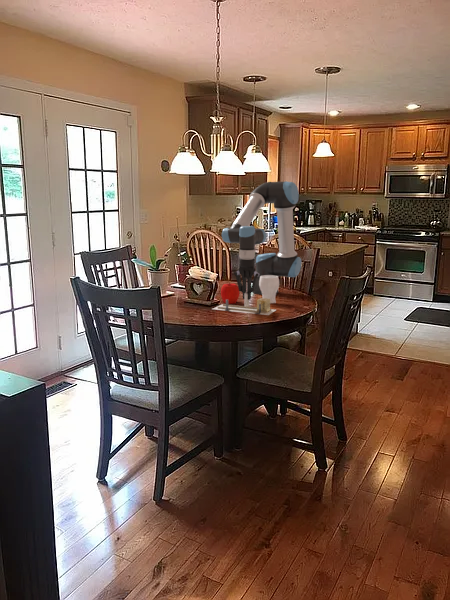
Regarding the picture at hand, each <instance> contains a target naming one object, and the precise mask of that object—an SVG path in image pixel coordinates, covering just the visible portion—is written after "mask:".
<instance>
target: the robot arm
mask: <svg viewBox="0 0 450 600" xmlns="http://www.w3.org/2000/svg"><path fill="white" fill-rule="evenodd" d="M299 193H300V192H299V189H298V186H297V185H296V183H295V182H293V181H265V182H264V183H261V184H260V185H258V186H257V187H255V188H254V189H253V190H252V191H251V193H250V194H249V196H248V200H247V202H246V204H245V205H244V207H243V208H242V210H241V211H240V213H239V214H238V215H237V217H236V219H235V220H234V222H233V223H232V224H231V226H230V227H225V228H223V229H222V232H221V238H222V242H225V243H229V244H238V245H239V249H238V251H239V254H238V256H239V260H238V262H239V263H238V265H239V266H238V269H237V270H236V271H235V272H233V275H234V276H235V278H236V283H237V284H236V285H237V286H238V288H239V292H241V293H242V299H243V300H244V305H243V306H247V307H250V300H251V298H252V293H254V294H256V295H262V292H261V290H260V287H259V280H260V276H264V275H274V276H278V277H284V278H296V277H297V276H299V273H300V272H301V268H302V258H301V257H300V256H298V252H297V251H295V237H294V236H295V234H294V233H295V232H294V211H293V209H294V208H295V207H296V204H298V201H299V197H300V194H299ZM266 204H273V208H274V209H275V210H276V214H277V215H276V216H277V231H278V232H277V234H278V249H279V251H278V252H277V253H276V252H269V253H262V254H258V255H256V254H255V252H256V251H255V247H256V245H260V244H262V243H265V241H266V240H267V232H266V231H265V230H264V229H263V228H255V226H253V225H250V224H251V223H252V221H253V220H254V219H255V217H256V216H257V214H258V212H259V210H260V209H261V208H263V207H264V206H265V205H266ZM255 257H256V258H255ZM255 259H256V260H255ZM253 276H254V277H253ZM252 277H253V280H252ZM277 294H279V289H278V290H277V292H276V295H277Z"/></svg>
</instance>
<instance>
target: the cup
mask: <svg viewBox="0 0 450 600" xmlns="http://www.w3.org/2000/svg"><path fill="white" fill-rule="evenodd" d="M259 287H260V290H261V292H262V294H261V295H262V296H261V298H266V299H270V304H276V303H277V301H276V296H277V294H276V292H277V290H278V291H279V287H280V279H279V276H274V275H264V276H260V280H259Z"/></svg>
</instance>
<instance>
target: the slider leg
mask: <svg viewBox="0 0 450 600" xmlns="http://www.w3.org/2000/svg"><path fill="white" fill-rule="evenodd" d="M256 307H257V311H259V313H261V311H266V312H267V313H268V312H269V311H270V309H271V303H270V299H266V298H263V297H261V298H260V297H259V299H257V300H256Z"/></svg>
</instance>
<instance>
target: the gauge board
mask: <svg viewBox="0 0 450 600" xmlns="http://www.w3.org/2000/svg"><path fill="white" fill-rule="evenodd" d="M212 310H214V311H215V310H217V311H225V312H232V313H233V312H235V313H246V314H253V315H254V314H255V315H264V316H270V315H271V314H273V313H274V312H276V311H277V309H272V308H270V311H269V312H268V313H267V312H266V311H261V313H259V311H257V306H255V307H253V306H244V305H238V304H237V305H235V304H228V300H226V303H223V304H219V305H217V306H216V307H214V308H213V307H212Z"/></svg>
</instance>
